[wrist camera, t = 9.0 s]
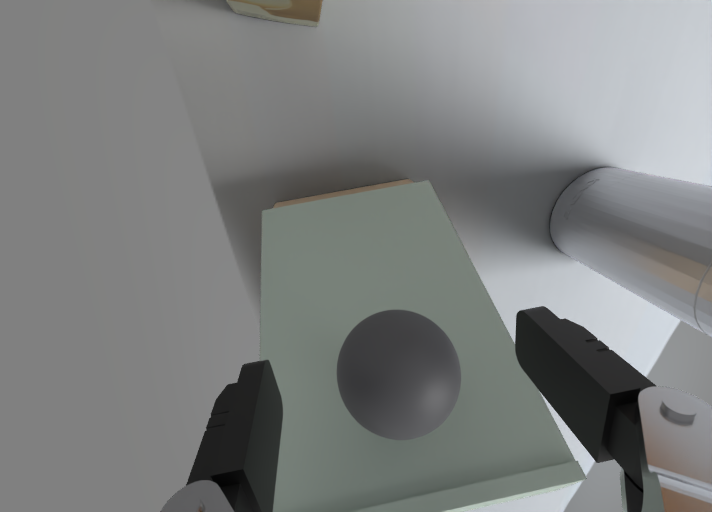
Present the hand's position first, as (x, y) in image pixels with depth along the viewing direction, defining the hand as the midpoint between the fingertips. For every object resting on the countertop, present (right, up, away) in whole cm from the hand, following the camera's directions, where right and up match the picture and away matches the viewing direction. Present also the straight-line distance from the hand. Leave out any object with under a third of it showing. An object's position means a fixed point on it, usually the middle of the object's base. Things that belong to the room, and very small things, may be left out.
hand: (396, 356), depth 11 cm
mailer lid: (0, -1, +10) cm, 10 cm away
